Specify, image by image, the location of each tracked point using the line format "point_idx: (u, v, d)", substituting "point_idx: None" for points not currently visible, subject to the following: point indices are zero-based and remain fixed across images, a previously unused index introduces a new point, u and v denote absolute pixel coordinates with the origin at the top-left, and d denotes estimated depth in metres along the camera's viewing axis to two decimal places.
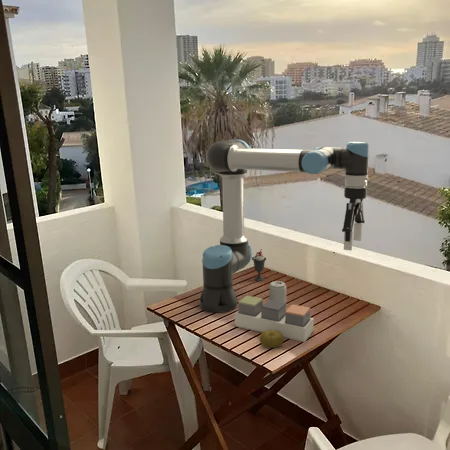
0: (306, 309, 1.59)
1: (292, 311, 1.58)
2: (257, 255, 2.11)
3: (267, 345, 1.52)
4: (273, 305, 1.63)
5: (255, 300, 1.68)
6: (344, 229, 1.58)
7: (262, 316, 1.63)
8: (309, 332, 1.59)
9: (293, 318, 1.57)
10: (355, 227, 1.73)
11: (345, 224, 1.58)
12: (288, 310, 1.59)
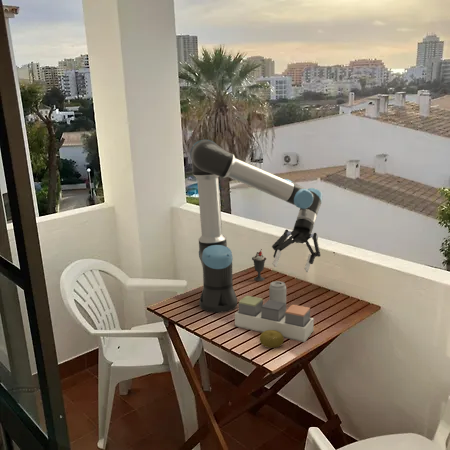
0: (306, 309, 1.59)
1: (292, 311, 1.58)
2: (257, 255, 2.11)
3: (267, 345, 1.52)
4: (273, 305, 1.63)
5: (255, 300, 1.68)
6: (319, 252, 1.81)
7: (262, 316, 1.63)
8: (309, 332, 1.59)
9: (293, 318, 1.57)
10: (278, 253, 1.88)
11: (318, 249, 1.82)
12: (288, 310, 1.59)
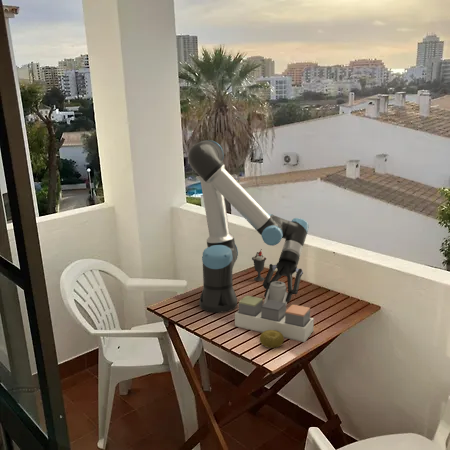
0: (306, 309, 1.59)
1: (292, 311, 1.58)
2: (257, 255, 2.11)
3: (267, 345, 1.52)
4: (273, 305, 1.63)
5: (255, 300, 1.68)
6: (296, 291, 1.74)
7: (262, 316, 1.63)
8: (309, 332, 1.59)
9: (293, 318, 1.57)
10: None
11: (297, 287, 1.75)
12: (288, 310, 1.59)
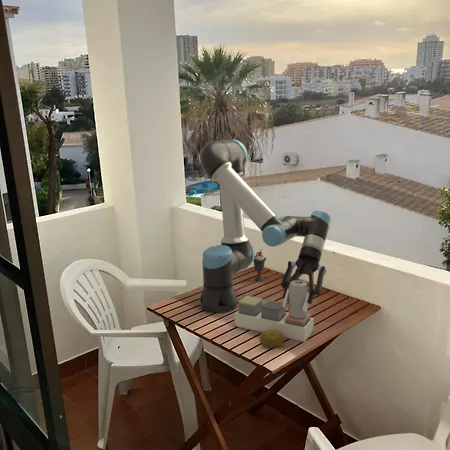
0: None
1: (292, 317, 1.58)
2: (257, 255, 2.11)
3: (267, 345, 1.52)
4: (273, 305, 1.63)
5: (255, 300, 1.68)
6: (318, 291, 1.56)
7: (262, 316, 1.63)
8: (309, 332, 1.59)
9: (293, 324, 1.58)
10: (288, 293, 1.59)
11: (320, 286, 1.56)
12: (288, 316, 1.59)
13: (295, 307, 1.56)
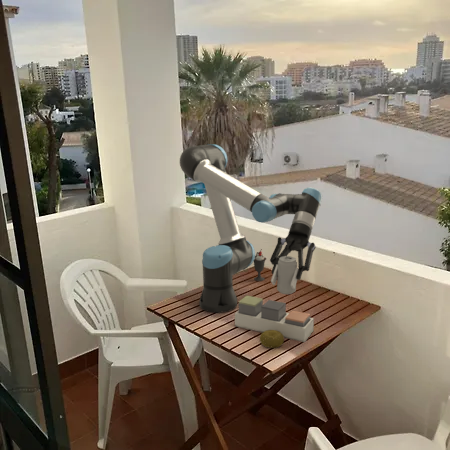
0: (306, 315, 1.60)
1: (292, 317, 1.58)
2: (257, 255, 2.11)
3: (267, 345, 1.52)
4: (273, 305, 1.63)
5: (255, 300, 1.68)
6: (307, 267, 1.56)
7: (262, 316, 1.63)
8: (309, 332, 1.59)
9: (293, 324, 1.58)
10: (277, 269, 1.59)
11: (309, 262, 1.56)
12: (288, 316, 1.59)
13: (284, 282, 1.56)
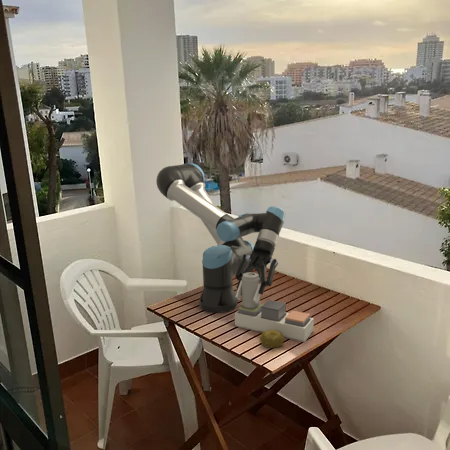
0: (306, 315, 1.60)
1: (292, 317, 1.58)
2: None
3: (267, 345, 1.52)
4: (273, 305, 1.63)
5: None
6: (269, 282, 1.64)
7: (262, 316, 1.63)
8: (309, 332, 1.59)
9: (293, 324, 1.58)
10: None
11: (271, 278, 1.65)
12: (288, 316, 1.59)
13: (247, 297, 1.65)
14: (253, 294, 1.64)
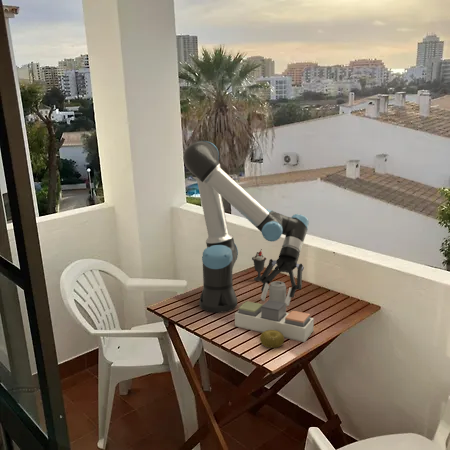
0: (306, 315, 1.60)
1: (292, 317, 1.58)
2: (257, 255, 2.11)
3: (267, 345, 1.52)
4: (273, 305, 1.63)
5: (255, 305, 1.69)
6: (300, 286, 1.74)
7: (262, 316, 1.63)
8: (309, 332, 1.59)
9: (293, 324, 1.58)
10: (266, 287, 1.78)
11: (300, 282, 1.75)
12: (288, 316, 1.59)
13: None
14: None
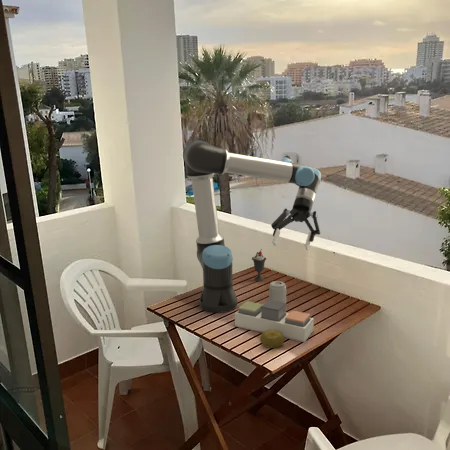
0: (306, 315, 1.60)
1: (292, 317, 1.58)
2: (257, 255, 2.11)
3: (267, 345, 1.52)
4: (273, 305, 1.63)
5: (255, 305, 1.69)
6: (319, 230, 1.81)
7: (262, 316, 1.63)
8: (309, 332, 1.59)
9: (293, 324, 1.58)
10: (277, 232, 1.88)
11: (318, 227, 1.82)
12: (288, 316, 1.59)
13: None
14: None
